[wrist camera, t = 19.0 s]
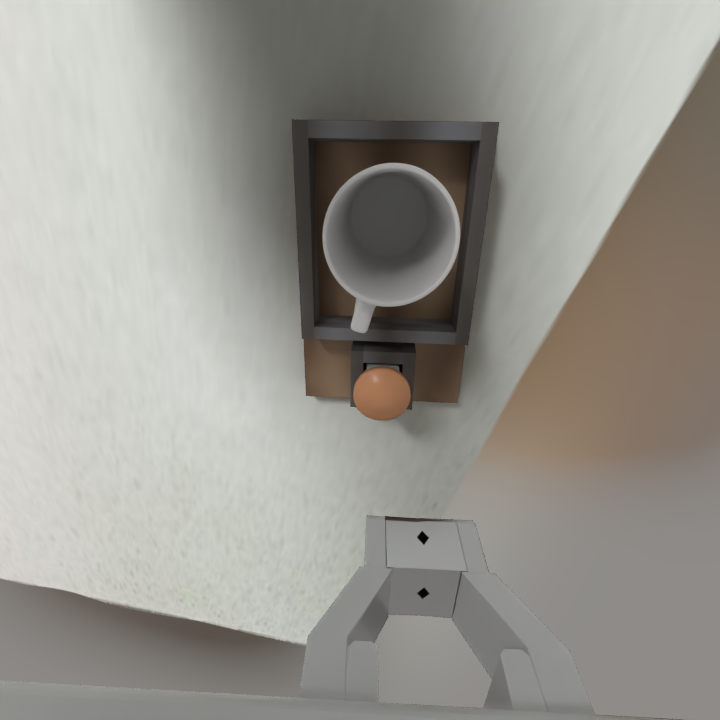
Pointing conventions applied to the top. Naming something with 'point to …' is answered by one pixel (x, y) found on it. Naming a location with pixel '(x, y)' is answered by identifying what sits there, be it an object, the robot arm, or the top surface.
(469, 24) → the top surface
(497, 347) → the top surface
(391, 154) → the board
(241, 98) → the top surface
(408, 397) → the click button
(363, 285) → the mug
